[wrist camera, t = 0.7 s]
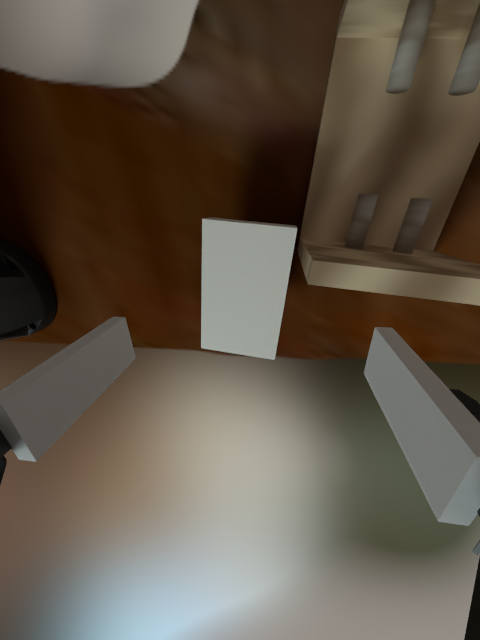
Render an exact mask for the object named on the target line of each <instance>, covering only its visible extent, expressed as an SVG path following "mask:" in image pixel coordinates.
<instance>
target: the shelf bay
mask: <svg viewBox="0 0 480 640" xmlns="http://www.w3.org/2000/svg"><path fill="white" fill-rule="evenodd" d="M479 142H480V0H344V3H343V7H342V10H341V13H340V17H339V21H338V27H337V32H336V38H335V44H334V49H333V55H332V60H331V66H330V71H329V77H328V82H327V88H326V93H325V99H324V105H323V110H322V116H321V121H320V127H319V132H318V138H317V143H316V149H315V155H314V160H313V166H312V171H311V177H310V182H309V188H308V193H307V199H306V205H305V210H304V216H303V221H302V227H301V232H300V238H299V243H298V249H297V252H298V255H299V258H300V261H301V264H302V267H303V271H304V274H305V277H306V280H307V283H308V284H310V285H318V286H326V287H334V288H342V289H351V290H359V291H367V292H375V293H383V294H391V295H399V296H408V297H416V298H424V299H432V300H440V301H448V302H456V303H465V304H473V305H480V265H479V264H476V263H472V262H469V261H465V260H462V259H459V258H455V257H452V256H448V255H445V254H441V253H438V252H434V251H433V250H434V248H435V245H436V243H437V241H438V238H439V236H440V233H441V231H442V229H443V226H444V224H445V222H446V219H447V217H448V215H449V212H450V210H451V208H452V205H453V203H454V201H455V198H456V196H457V194H458V191H459V189H460V187H461V184H462V182H463V179H464V177H465V175H466V172H467V170H468V168H469V165H470V163H471V161H472V158H473V156H474V154H475V151H476V149H477V147H478V144H479Z"/></svg>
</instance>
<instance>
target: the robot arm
mask: <svg viewBox="0 0 480 640" xmlns="http://www.w3.org/2000/svg"><path fill="white" fill-rule="evenodd" d="M55 314H56V298H55V294H54V291H53V288H52V286H51V284H50V282H49V280H48V278H47V277H46V275H45V274H44V272H43V271H42V269H41V268H40V267H39V266H38V265H37V263H36V262H35V261H34V260H33V259H32V258H31V257H30V256H28V255H27V254H26V253H25V252H23V251H22V250H21V249H19V248H17V247H16V246H14V245H12V244H10V243H8V242H5V241H2V240H0V340H6V339H11V338H17V337H22V336H28V335H31V334H34V333H36V332H38V331H40V330H42V329H44V328H46V327H47V326H49V325H50V324H51V323H52V321H53V320H54V317H55ZM135 358H136V357H135V353H134V349H133V346H132V342H131V338H130V334H129V330H128V326H127V323H126V319H125V317H112V318H110V319H109V320H107V321H106V322H104V323H103V324H101V325H99V326H98V327H96V328H95V329H93V330H92V331H90V332H89V333H87V334H86V335H84V336H83V337H81V338H80V339H78V340H77V341H75V342H74V343H72V344H71V345H69V346H67V347H66V348H65V349H63V350H62V351H60V352H58V353H57V354H55V355H54V356H52V357H51V358H49V359H48V360H46V361H45V362H43V363H42V364H40V365H39V366H37V367H35V368H34V369H32V370H31V371H29V372H28V373H26V374H25V375H24V376H22V377H20V378H18V379H17V380H15V381H14V382H13V383H11V384H9V385H8V386H6V387H5V388H3V389H2V390H0V484H1V481H2V477H3V474H4V471H5V467H6V458H5V457H4V454H6V453H7V452H8V451H9V450H10V449H11V448H12V450H13V451H14V453H15V454H16V456H17V457H18V459H21V460H27V461H34V462H37V461H38V460H39V459H40V458H41V457H42V456H43V455H44V454H45V452H46V451H47V450H48V449H49V448H50V447H51V446H52V445H53V444H54V443H55V442H56V441H57V440H58V439H59V438H60V437H61V436H62V435H63V434H64V433H65V432H66V431H67V429H68V428H69V427H70V426H71V425H72V424H73V423H74V422H75V421H76V420H77V419H78V418H79V417H80V416H81V415H82V414H83V413H84V412H85V411H86V410H87V408H89V406H90V405H91V404H92V403H93V402H94V401H95V400H96V399H97V398H98V397H99V396H100V395H101V394H102V393H103V392H104V391H105V390H106V389H107V388H108V387H109V385H111V383H112V382H113V381H114V380H115V379H116V378H117V377H118V376H119V375H120V374H121V373H122V372H123V371H124V370H125V369H126V368H127V367H128V366H129V365H130V364H131V362H132V361H133V360H134V359H135ZM364 375H365V377H366V379H367V381H368V383H369V385H370V387H371V389H372V390H373V393H374V395H375V397H376V399H377V401H378V403H379V405H380V407H381V409H382V411H383V413H384V415H385V417H386V419H387V421H388V423H389V425H390V427H391V429H392V430H393V433H394V435H395V437H396V439H397V441H398V442H399V445H400V447H401V449H402V451H403V452H404V454H405V457H406V459H407V460H408V463H409V465H410V467H411V469H412V471H413V472H414V475H415V477H416V479H417V480H418V482H419V484H420V487H421V489H422V490H423V493H424V494H425V496H426V499H427V501H428V502H429V505H430V506H431V509H432V511H433V512H434V514H435V516H436V518H437V520H438V521H439V522H445V523H452V524H459V525H466V526H469V525H470V524H471V522H472V521H473V519H474V518H475V517H476V515H477V514H479V516H480V404H479V403H478V402H477V401H476V400H474V399H472V398H471V397H469V396H468V395H466V394H465V393H463V392H461V391H460V390H455V389H448V388H447V387H446V386H445V385H444V383H442V381H441V380H440V379H439V378H438V377H437V376H436V375H435V374H434V373H433V372H432V370H431V369H430V368H429V367H428V366H427V365H426V364H425V363H424V362H423V361H422V360H421V359H420V357H419V356H418V355H417V354H416V353H415V352H414V351H413V350H412V349H411V348H410V347H409V346H408V344H407V343H406V342H405V341H404V340H403V339H402V338H401V337H400V336H399V335H398V334H397V333H396V331H395V330H394V329H393V328H385V327H375V329H374V333H373V337H372V341H371V345H370V350H369V354H368V358H367V362H366V366H365V371H364ZM473 552H474V553H475V554H477V555H478V554H479V553H480V541H479V542H478V544H477V545H476V546H475V548H474V549H473ZM464 640H480V559H479V563H478V569H477V574H476V580H475V585H474V591H473V596H472V601H471V606H470V612H469V617H468V623H467V628H466V634H465V639H464Z"/></svg>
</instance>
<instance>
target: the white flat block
mask: <svg viewBox="0 0 480 640" xmlns="http://www.w3.org/2000/svg"><path fill="white" fill-rule="evenodd" d="M296 234H297V227H296V226H294V225H284V224H273V223H263V222H253V221H242V220H232V219H221V218H205V219H202V308H201V348H204V349H210V350H216V351H223V352H229V353H235V354H241V355H247V356H254V357H260V358H266V359H273V360H275V355H276V349H277V343H278V338H279V332H280V326H281V320H282V314H283V309H284V303H285V297H286V291H287V286H288V280H289V274H290V268H291V263H292V257H293V251H294V245H295V240H296Z"/></svg>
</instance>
